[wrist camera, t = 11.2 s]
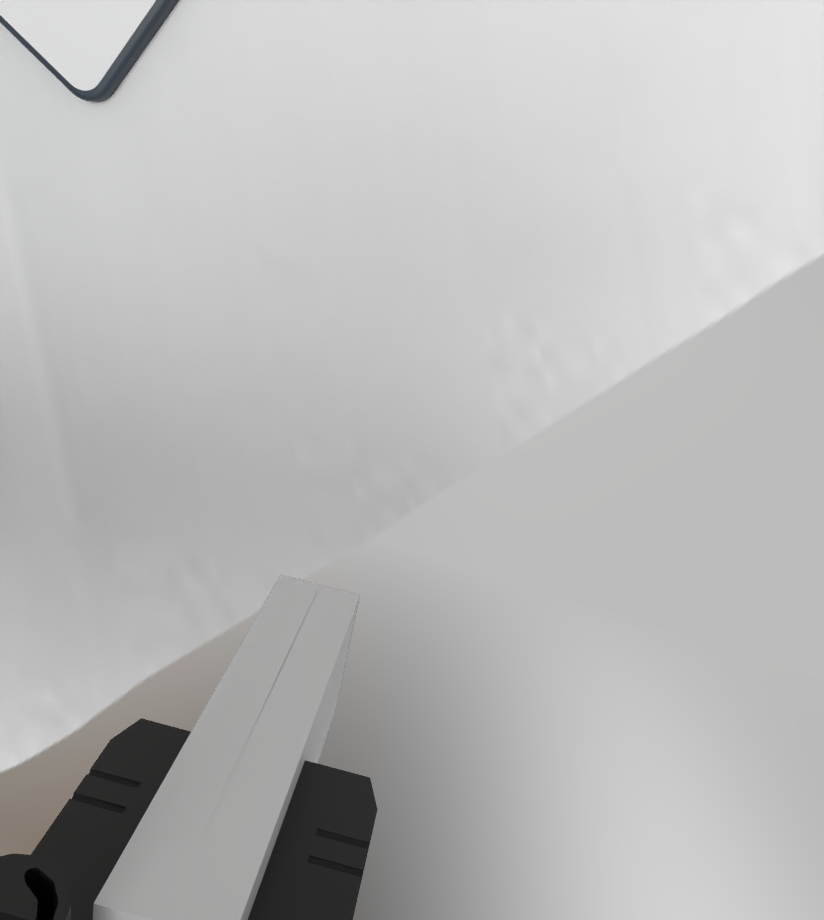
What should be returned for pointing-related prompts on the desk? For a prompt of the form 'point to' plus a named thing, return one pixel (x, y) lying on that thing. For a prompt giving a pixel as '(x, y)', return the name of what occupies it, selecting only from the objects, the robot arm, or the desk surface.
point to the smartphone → (86, 38)
